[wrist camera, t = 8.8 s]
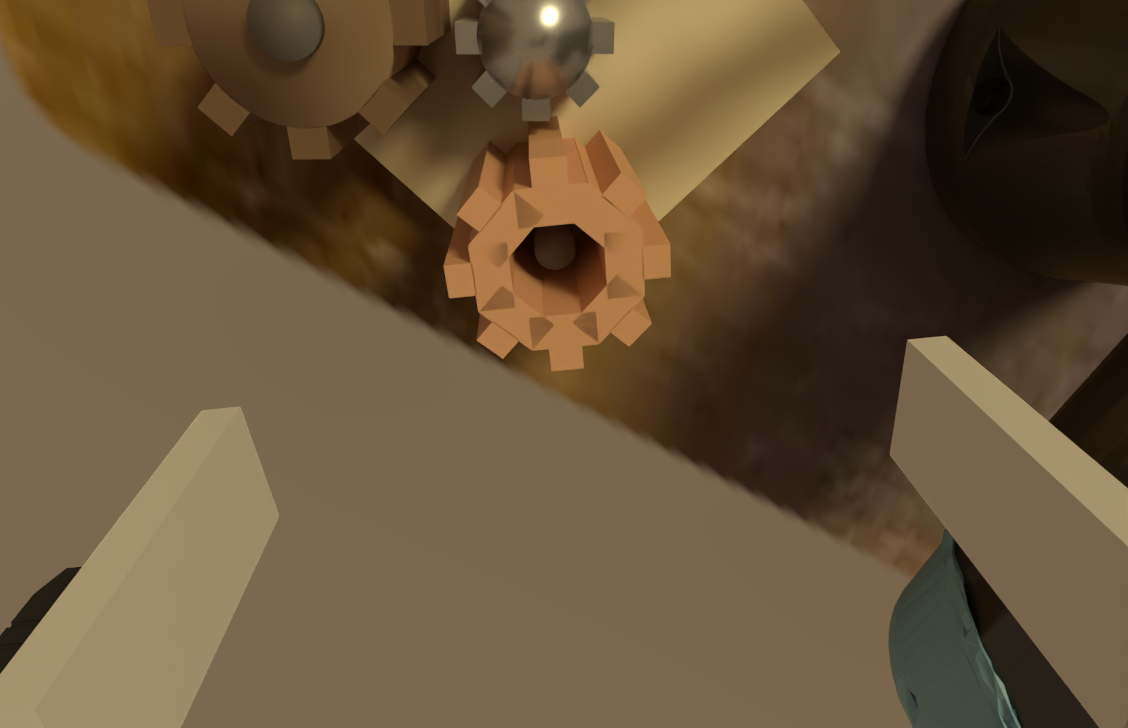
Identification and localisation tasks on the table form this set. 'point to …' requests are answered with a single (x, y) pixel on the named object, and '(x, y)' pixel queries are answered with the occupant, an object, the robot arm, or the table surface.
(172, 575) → the robot arm
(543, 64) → the sun gear
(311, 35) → the pinned planet gear
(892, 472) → the table surface
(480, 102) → the carrier
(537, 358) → the table surface
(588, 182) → the planet gear
